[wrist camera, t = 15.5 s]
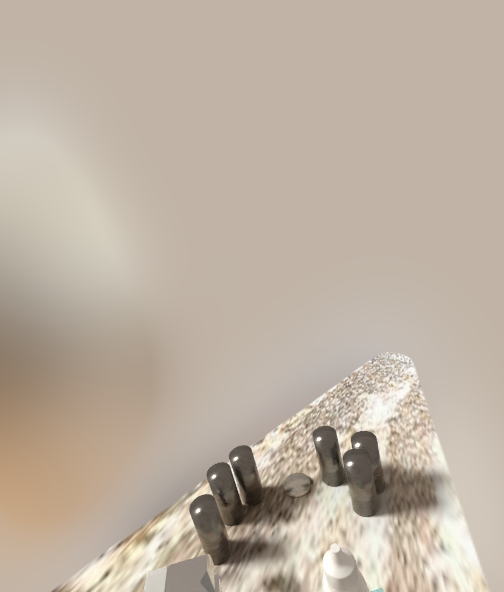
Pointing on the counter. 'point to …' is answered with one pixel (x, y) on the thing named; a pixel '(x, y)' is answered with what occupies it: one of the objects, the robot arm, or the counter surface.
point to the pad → (378, 590)
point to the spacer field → (226, 501)
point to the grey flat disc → (297, 485)
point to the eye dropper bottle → (341, 572)
